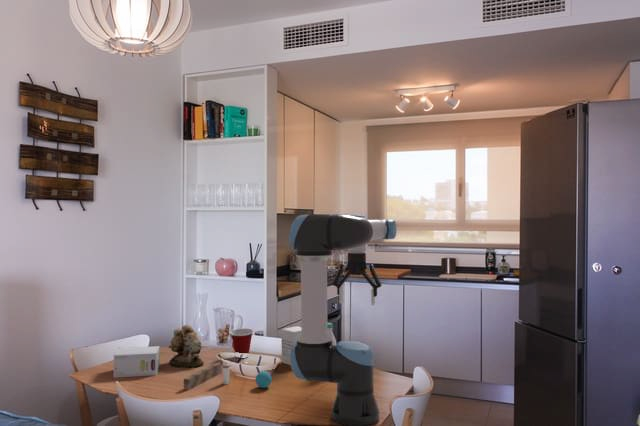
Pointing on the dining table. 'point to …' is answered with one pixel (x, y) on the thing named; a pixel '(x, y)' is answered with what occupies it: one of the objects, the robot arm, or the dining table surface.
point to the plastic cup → (241, 340)
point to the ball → (263, 379)
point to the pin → (226, 372)
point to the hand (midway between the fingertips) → (357, 303)
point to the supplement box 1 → (136, 361)
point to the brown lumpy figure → (186, 348)
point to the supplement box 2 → (289, 342)
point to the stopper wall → (202, 376)
